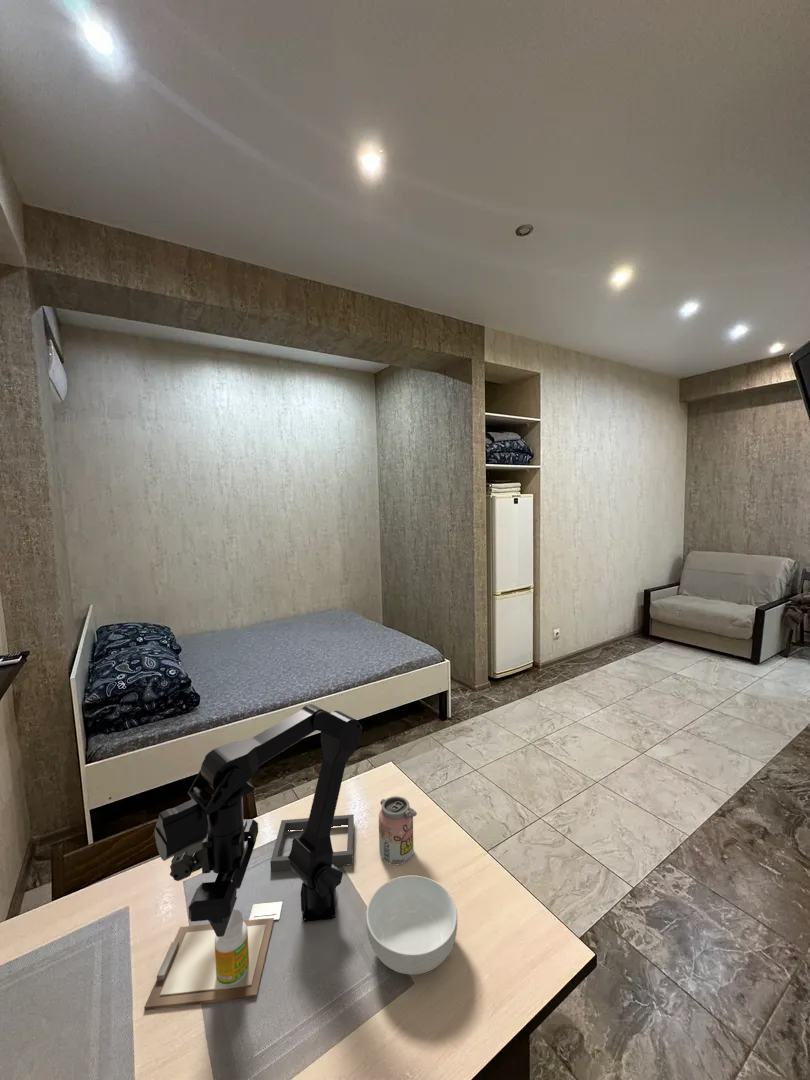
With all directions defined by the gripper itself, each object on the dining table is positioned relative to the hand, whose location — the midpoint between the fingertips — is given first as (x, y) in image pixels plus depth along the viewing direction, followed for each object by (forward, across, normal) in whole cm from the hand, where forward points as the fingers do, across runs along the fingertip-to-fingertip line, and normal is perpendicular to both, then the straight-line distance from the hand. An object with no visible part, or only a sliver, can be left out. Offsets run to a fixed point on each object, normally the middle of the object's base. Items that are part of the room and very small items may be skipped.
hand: (229, 910), depth 76 cm
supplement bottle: (+12, 0, 0) cm, 12 cm away
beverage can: (+12, -25, +31) cm, 42 cm away
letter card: (+12, -12, +3) cm, 18 cm away
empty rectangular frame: (+12, -29, +11) cm, 33 cm away
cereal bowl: (+12, -2, +32) cm, 35 cm away
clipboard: (+12, -3, -4) cm, 13 cm away
